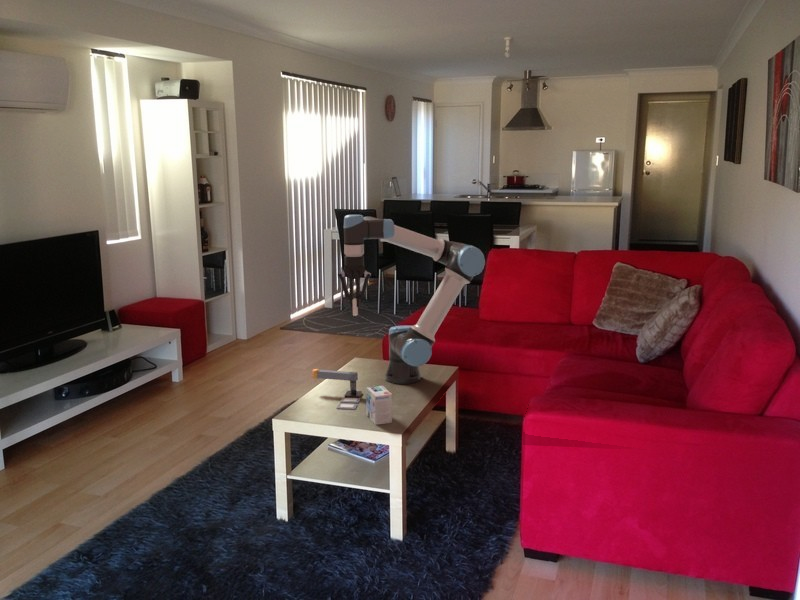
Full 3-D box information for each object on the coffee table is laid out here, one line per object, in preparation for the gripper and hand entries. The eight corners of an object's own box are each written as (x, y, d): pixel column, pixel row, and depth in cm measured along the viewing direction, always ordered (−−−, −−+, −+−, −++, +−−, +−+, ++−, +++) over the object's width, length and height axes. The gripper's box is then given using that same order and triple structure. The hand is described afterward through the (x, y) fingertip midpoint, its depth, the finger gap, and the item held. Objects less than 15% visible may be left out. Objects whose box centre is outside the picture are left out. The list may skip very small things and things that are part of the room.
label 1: (360, 399, 275) (360, 397, 275) (358, 403, 271) (358, 402, 270) (343, 398, 276) (343, 397, 276) (340, 402, 271) (340, 401, 271)
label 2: (357, 405, 269) (357, 403, 268) (354, 409, 264) (354, 408, 264) (339, 404, 269) (339, 403, 269) (336, 408, 265) (336, 407, 264)
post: (362, 393, 282) (361, 378, 281) (359, 398, 276) (359, 382, 275) (347, 393, 283) (347, 377, 281) (344, 398, 277) (344, 382, 275)
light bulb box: (365, 415, 258) (365, 387, 256) (383, 412, 260) (382, 385, 258) (375, 425, 248) (374, 396, 246) (393, 422, 250) (392, 393, 248)
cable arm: (356, 382, 276) (355, 374, 275) (311, 378, 280) (311, 371, 280) (358, 379, 279) (358, 371, 279) (314, 376, 284) (314, 368, 283)
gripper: (372, 254, 273) (373, 313, 278) (339, 253, 275) (340, 312, 279) (369, 256, 266) (370, 317, 270) (335, 256, 267) (336, 316, 272)
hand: (355, 315), depth 275 cm, fingers closed
